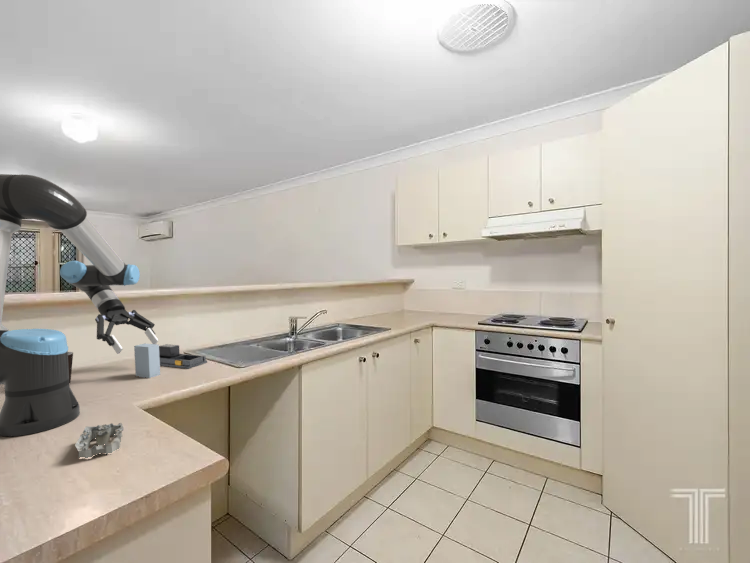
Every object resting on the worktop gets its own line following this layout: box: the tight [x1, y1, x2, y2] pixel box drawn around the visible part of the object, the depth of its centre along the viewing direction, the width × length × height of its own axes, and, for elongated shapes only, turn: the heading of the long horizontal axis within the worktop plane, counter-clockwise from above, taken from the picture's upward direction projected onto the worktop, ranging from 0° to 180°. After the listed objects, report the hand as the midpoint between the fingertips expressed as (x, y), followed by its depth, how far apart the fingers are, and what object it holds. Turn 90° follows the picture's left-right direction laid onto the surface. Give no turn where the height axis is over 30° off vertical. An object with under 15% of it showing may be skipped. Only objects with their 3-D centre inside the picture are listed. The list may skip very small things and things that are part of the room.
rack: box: [159, 343, 208, 370], centre depth 140 cm, size 9×21×7 cm, turn 70°
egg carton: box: [74, 422, 124, 458], centre depth 75 cm, size 11×8×4 cm
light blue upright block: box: [133, 342, 161, 379], centre depth 125 cm, size 4×7×11 cm, turn 70°
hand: (139, 346), depth 128 cm, fingers open, 13 cm apart
